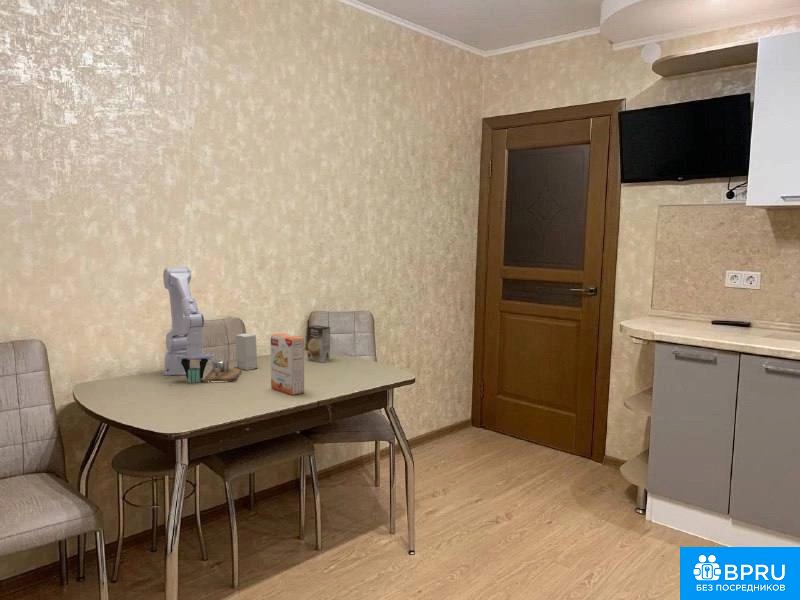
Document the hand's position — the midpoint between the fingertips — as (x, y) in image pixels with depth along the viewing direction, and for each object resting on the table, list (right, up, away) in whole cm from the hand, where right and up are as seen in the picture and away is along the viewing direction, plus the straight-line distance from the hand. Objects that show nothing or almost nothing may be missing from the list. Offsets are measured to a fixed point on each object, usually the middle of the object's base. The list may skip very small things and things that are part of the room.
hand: (195, 377), depth 247 cm
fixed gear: (+7, +1, +13) cm, 14 cm away
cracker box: (+39, -4, -12) cm, 41 cm away
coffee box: (+43, +2, +44) cm, 62 cm away
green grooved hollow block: (0, -1, 0) cm, 1 cm away
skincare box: (+14, +1, +26) cm, 29 cm away
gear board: (+9, -1, +8) cm, 12 cm away
